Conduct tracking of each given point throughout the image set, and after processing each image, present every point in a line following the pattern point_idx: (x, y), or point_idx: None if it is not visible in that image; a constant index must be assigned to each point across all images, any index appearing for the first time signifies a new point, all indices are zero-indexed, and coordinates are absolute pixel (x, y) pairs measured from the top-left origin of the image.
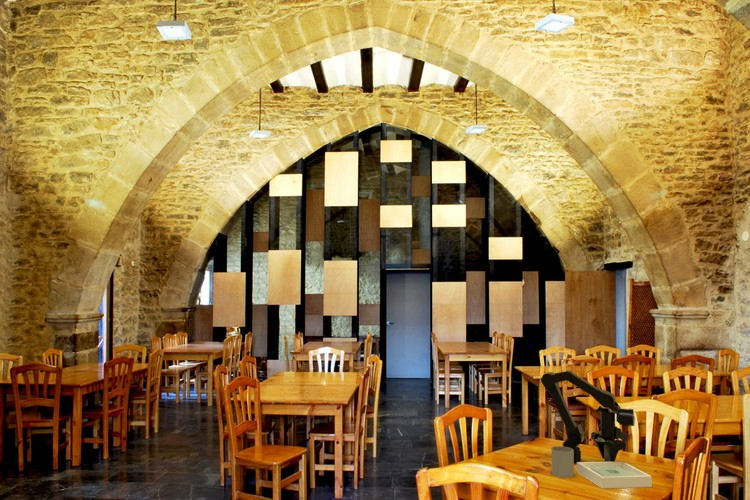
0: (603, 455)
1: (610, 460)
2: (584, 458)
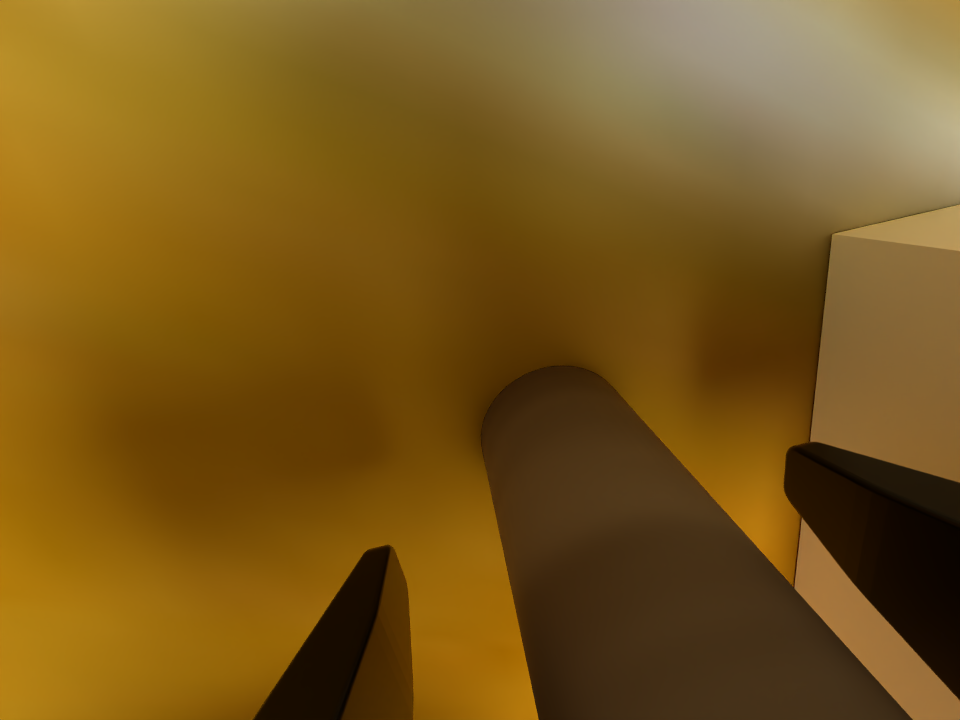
0: (400, 664)
1: (852, 565)
2: (29, 691)
